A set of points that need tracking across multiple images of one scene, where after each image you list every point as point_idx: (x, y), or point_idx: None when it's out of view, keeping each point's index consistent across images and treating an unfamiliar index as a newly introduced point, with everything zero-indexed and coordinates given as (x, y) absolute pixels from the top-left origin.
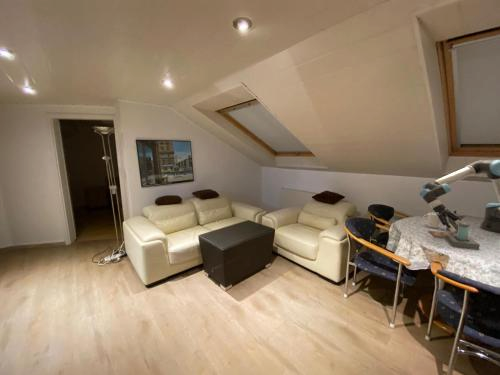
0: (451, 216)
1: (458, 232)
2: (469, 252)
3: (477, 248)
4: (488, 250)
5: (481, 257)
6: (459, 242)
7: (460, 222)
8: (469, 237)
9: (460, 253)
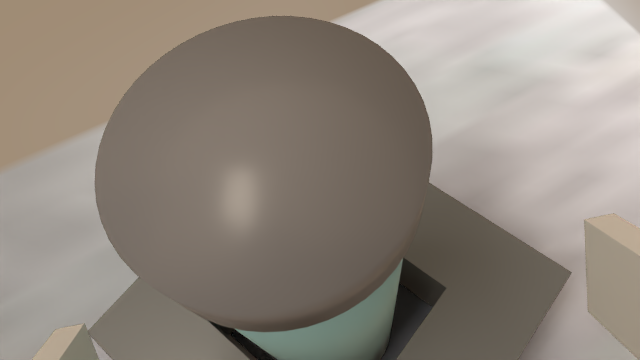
0: None
1: (394, 300)
2: (496, 128)
3: None
4: None
5: (493, 32)
6: (497, 229)
7: (270, 255)
8: (125, 312)
9: (633, 137)
